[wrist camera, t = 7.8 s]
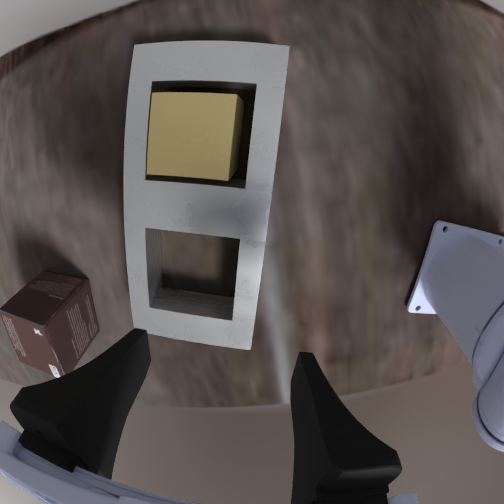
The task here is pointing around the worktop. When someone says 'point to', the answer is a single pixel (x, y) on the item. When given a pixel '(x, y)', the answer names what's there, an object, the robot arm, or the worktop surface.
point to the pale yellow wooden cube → (194, 134)
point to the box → (51, 322)
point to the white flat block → (200, 189)
